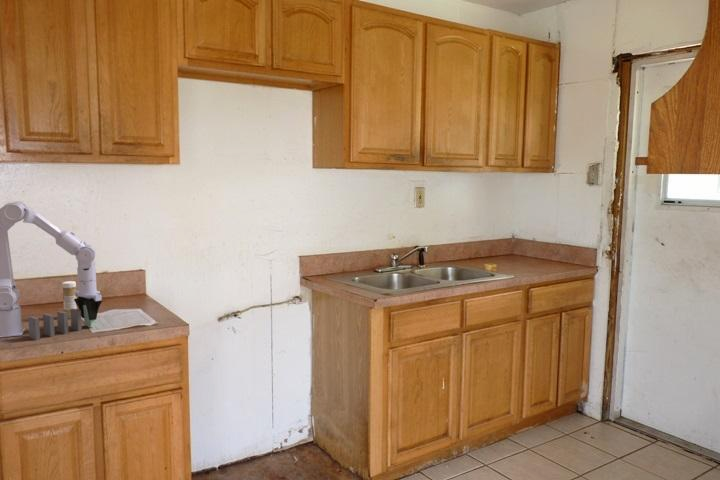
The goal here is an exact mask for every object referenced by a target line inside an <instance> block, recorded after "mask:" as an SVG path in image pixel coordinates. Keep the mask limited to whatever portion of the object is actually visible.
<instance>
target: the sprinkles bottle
mask: <svg viewBox="0 0 720 480" xmlns="http://www.w3.org/2000/svg"><path fill="white" fill-rule="evenodd" d="M61 286H62V287H61V288H62V294H63V295H62V297H63V301H62V302H63V312H66V313H67V314H68V319H71V313H70V309H78V306H77V304H76V302H75V301H74V299H76V298H77V296H75V291H77V282H76V281H74V280H68V281H63V282H62V283H61Z"/></svg>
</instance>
